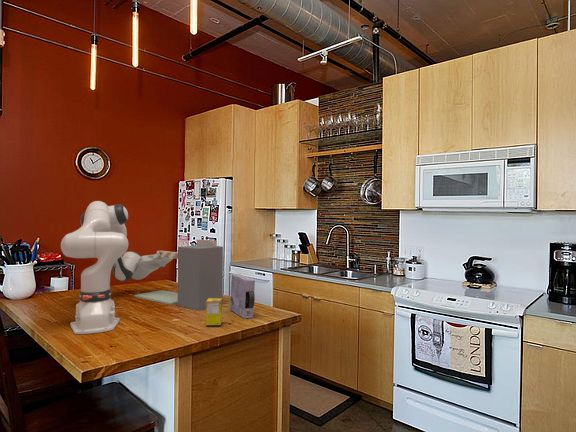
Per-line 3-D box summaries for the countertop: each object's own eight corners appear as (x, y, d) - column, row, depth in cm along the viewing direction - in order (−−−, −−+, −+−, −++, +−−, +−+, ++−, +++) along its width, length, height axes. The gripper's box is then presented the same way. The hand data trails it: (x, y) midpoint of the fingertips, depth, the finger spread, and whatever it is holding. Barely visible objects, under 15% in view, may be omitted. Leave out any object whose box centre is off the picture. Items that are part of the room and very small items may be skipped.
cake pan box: (255, 318, 176) (255, 279, 176) (245, 320, 173) (245, 280, 173) (239, 309, 192) (239, 273, 192) (229, 310, 190) (229, 274, 190)
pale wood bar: (196, 245, 207) (196, 239, 207) (200, 245, 209) (200, 239, 209) (212, 246, 200) (212, 240, 200) (216, 246, 202) (216, 240, 202)
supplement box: (222, 322, 168) (222, 297, 168) (220, 327, 162) (220, 300, 162) (208, 322, 168) (208, 297, 168) (206, 327, 162) (206, 300, 162)
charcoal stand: (177, 305, 198) (177, 246, 198) (201, 300, 211) (201, 244, 211) (198, 310, 189) (199, 248, 189) (222, 304, 202) (222, 246, 202)
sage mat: (134, 296, 218) (134, 294, 218) (161, 291, 233) (161, 289, 233) (170, 305, 200) (170, 303, 200) (197, 298, 214) (197, 297, 214)
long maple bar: (156, 256, 219) (156, 251, 219) (161, 255, 221) (161, 250, 221) (180, 259, 207) (180, 253, 207) (184, 258, 209) (184, 253, 209)
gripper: (132, 260, 217) (145, 249, 210) (163, 257, 234) (176, 246, 227) (135, 270, 215) (148, 260, 208) (166, 266, 232) (179, 256, 225)
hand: (163, 253), depth 218 cm, fingers closed on long maple bar, 3 cm apart
